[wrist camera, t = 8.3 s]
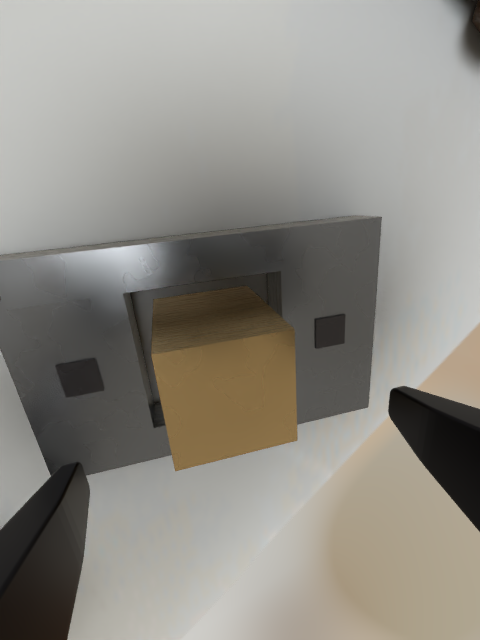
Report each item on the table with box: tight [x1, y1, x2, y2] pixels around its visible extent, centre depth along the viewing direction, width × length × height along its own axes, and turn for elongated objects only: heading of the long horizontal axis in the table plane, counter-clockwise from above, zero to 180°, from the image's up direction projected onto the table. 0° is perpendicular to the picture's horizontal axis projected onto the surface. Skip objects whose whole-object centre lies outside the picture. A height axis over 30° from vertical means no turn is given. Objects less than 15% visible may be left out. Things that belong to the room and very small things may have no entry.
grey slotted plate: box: [0, 215, 382, 476], centre depth 15 cm, size 10×16×2 cm, turn 96°
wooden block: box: [151, 286, 297, 471], centre depth 13 cm, size 4×4×6 cm
